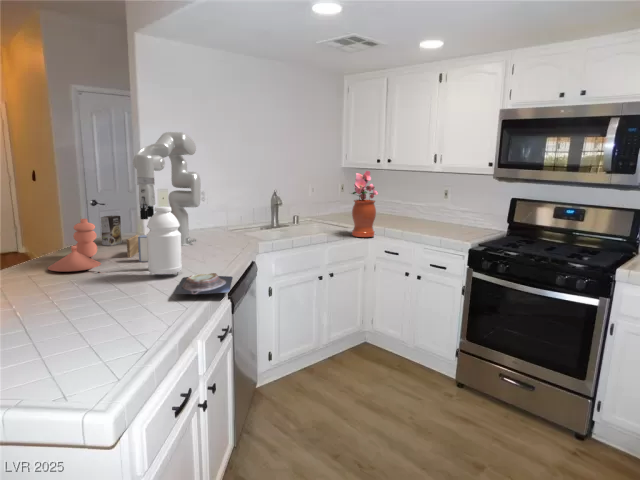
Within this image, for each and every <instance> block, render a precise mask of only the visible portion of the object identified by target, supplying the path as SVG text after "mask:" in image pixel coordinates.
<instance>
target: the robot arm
mask: <svg viewBox="0 0 640 480" xmlns="http://www.w3.org/2000/svg"><path fill="white" fill-rule="evenodd" d="M196 151H197V145H196V142H195V140H193V139H192V137H191V136H189V135H188V134H187V133H185V132H183V131H181V132H178V131H175V132H172V131H168V132H167V131H166V132H163V133H162V134H161V135H160V137H159V138H158V139H157V140H156V142H155V143H151V144H149V145H147V146H144V147H142V148H140V149H139V150H138V151H136V153H135V154H134V156H133V158H132V165H133V168H134V169H135V170H136V185H138V201H139V202H138V203H139V215H140V217H139V218H140V220H148V219H149V218H151V217H152V216H153V215H154V214H155V213H154V212H155V207H154V206H155V205H156V194H155V193H156V192H155V188H154V186H155V172H160V171H162V170H164V168H165V167H166V161H165V159H164V158H167V157H168V158H169V161H170V165H171V166H170V167H171V170H170V172H171V174H170V175H171V178H170V180H171V185H172V187H173V188H175V189H190V190H173V191H170V192H169V194H168V203H169V207H171V209H172V211H170V212H171V213H172V214H173V215H174V216H175V217H176V218H177V220H178V222H179V224H180V226H179V227H178V231H179V232H180V233H181V247H188V246H192V244H193V243H197V241H198V240H197V238H191V236H190V231H189V230H190V229H189V228H190V227H189V214H188V211H187V210H186V209H185V208H193V209H194V208H199V206H200V205H201V177H200V174H199V173H198V172H197V171H188V163H187V160H186V159H185V157H184V156H193V155H194V154H195V153H196Z"/></svg>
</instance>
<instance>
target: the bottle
mask: <svg viewBox="0 0 640 480" xmlns="http://www.w3.org/2000/svg"><path fill="white" fill-rule="evenodd" d="M171 211H172V209H171V207H170V206H165V205H164V206H163V205H162V206H155V207H154V212H155V213H154V215H153V216H152V217H149V220H148V222H147V225H146V227H147V228H148V229H149V231H148V232H147V233H146V235H147V249H148V262H147V264H148V266H147V270H148V272H149V273H151V274H153V275H155V274H157V275H168V274H175V273H178V272H180V271H182V270H183V262H182V246H181V233H180V232H179V231H178V227H179V226H180V224H179V222H178V220H177V218H176V217H175V216H174V215H173V214H172V213H171Z"/></svg>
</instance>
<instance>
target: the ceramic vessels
mask: <svg viewBox="0 0 640 480" xmlns="http://www.w3.org/2000/svg"><path fill="white" fill-rule="evenodd" d="M79 221H80V222H78V223H76V224H74V225H73V229H74V233H73V239H74V241H76V242H77V243H76V244H75V245H71V246H70V249H71V252H70V253H68V254H67V255H65V256H64V257H62V258H60V259H59V260H57V261H56V262H54V263H52V264H51V265H49V266H48V267H47V270H49V271H52V272H79V271H86V270H92V269H95V268H98V267H100V266H101V265H102V263H101V262H100V261H99V260H95V259H94V258H93V256H95V255H96V254H97V253H98V245H97V244H96V242H95V240H96V239H97V233H96V231H95V228H96V226H95V224H94V223H91V222H88V218H80V220H79Z"/></svg>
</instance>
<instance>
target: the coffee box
mask: <svg viewBox="0 0 640 480" xmlns="http://www.w3.org/2000/svg"><path fill="white" fill-rule="evenodd" d="M121 222H122V221H121V216H120V215H106V216H101V217H100V223H101V224H100V228H101V229H100V230H101V232H100V233H101V245H102V246H116V245H119V244H122V242H123V241H122V225H121V224H122V223H121Z"/></svg>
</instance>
